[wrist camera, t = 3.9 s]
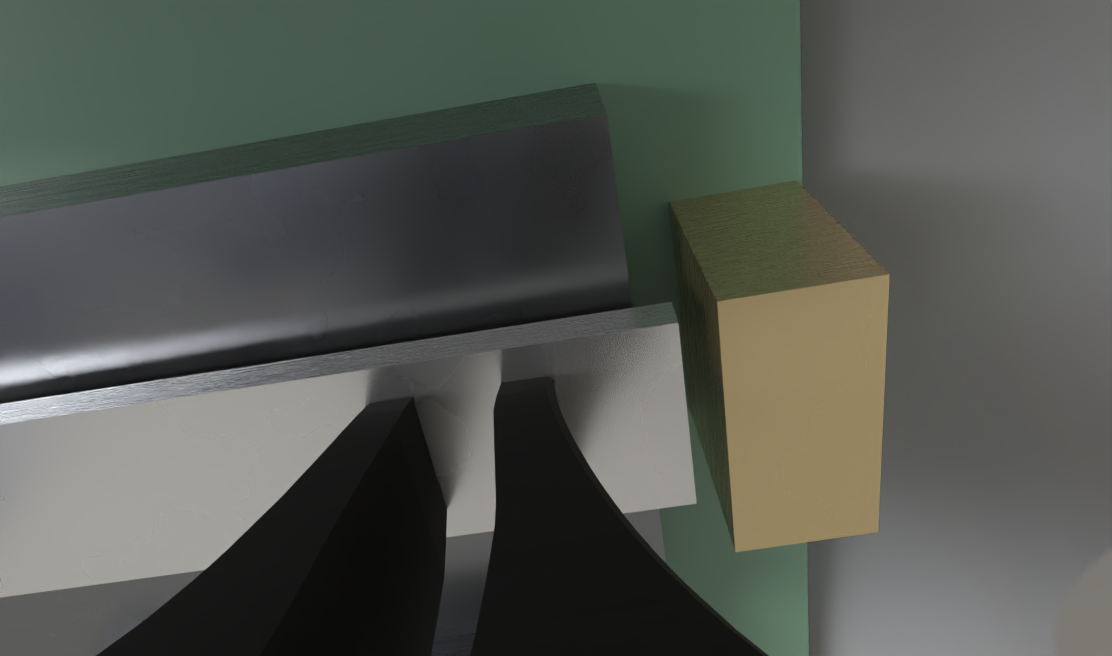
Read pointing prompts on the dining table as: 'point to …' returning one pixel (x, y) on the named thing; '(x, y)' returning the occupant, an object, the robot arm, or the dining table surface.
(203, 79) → the circuit board
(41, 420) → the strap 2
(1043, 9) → the dining table surface
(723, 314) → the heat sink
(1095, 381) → the dining table surface
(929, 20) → the dining table surface
